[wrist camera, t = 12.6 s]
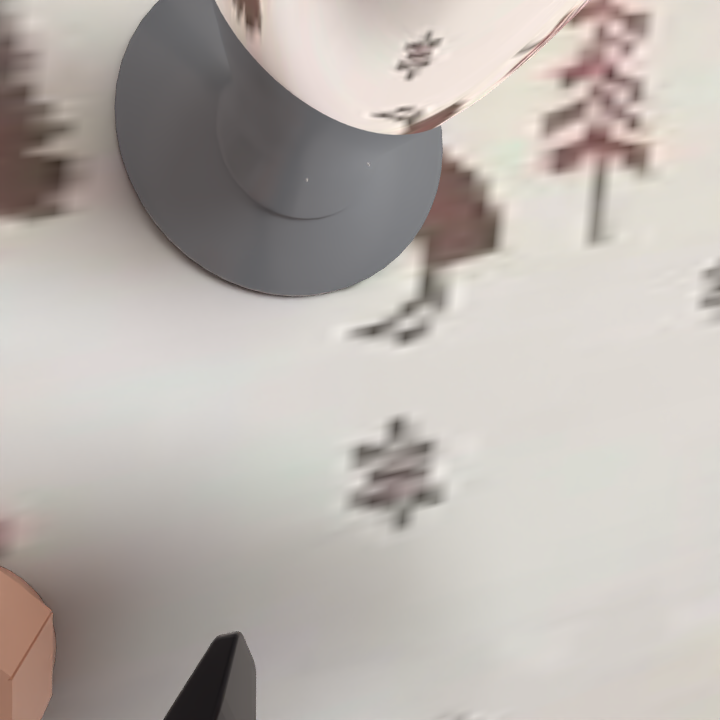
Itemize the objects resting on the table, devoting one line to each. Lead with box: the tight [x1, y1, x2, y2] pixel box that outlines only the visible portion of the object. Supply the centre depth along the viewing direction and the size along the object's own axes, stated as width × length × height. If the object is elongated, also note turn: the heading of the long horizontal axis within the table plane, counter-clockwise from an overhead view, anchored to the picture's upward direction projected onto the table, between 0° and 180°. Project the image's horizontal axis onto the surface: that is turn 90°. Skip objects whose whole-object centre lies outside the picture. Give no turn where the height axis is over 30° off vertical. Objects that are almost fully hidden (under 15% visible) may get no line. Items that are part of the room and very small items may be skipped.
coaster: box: [115, 0, 443, 296], centre depth 19 cm, size 12×12×1 cm
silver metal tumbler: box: [211, 0, 591, 219], centre depth 12 cm, size 7×7×15 cm
